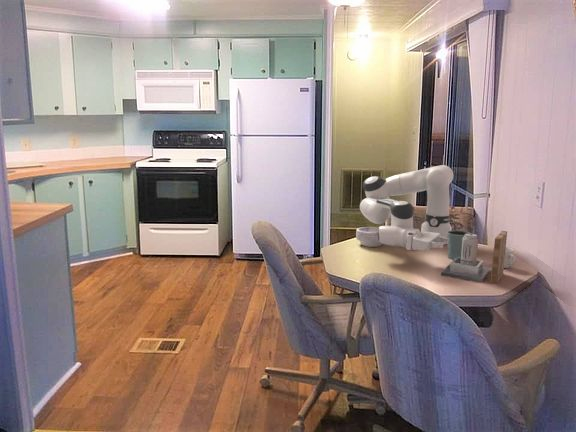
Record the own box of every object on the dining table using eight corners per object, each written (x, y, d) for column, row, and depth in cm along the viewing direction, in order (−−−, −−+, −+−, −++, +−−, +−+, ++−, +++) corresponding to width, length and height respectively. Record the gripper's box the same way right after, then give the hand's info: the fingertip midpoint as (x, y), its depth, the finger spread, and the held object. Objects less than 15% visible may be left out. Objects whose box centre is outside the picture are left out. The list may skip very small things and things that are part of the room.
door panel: (497, 273, 215) (502, 230, 212) (502, 273, 214) (507, 231, 211) (490, 283, 202) (494, 238, 198) (496, 284, 201) (500, 239, 197)
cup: (520, 270, 219) (522, 252, 218) (505, 272, 217) (507, 253, 215) (503, 263, 229) (505, 246, 228) (488, 264, 227) (489, 247, 226)
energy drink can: (457, 270, 213) (460, 234, 210) (463, 267, 217) (466, 232, 215) (471, 273, 209) (474, 237, 206) (477, 270, 214) (481, 234, 211)
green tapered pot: (469, 261, 231) (472, 235, 229) (446, 260, 233) (448, 234, 231) (466, 255, 241) (469, 230, 239) (444, 254, 243) (446, 229, 241)
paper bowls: (362, 239, 269) (363, 224, 267) (390, 243, 261) (391, 228, 259) (350, 245, 256) (351, 230, 254) (379, 250, 248) (380, 234, 247)
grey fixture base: (452, 265, 226) (452, 253, 225) (490, 271, 218) (491, 259, 217) (440, 275, 211) (441, 263, 210) (482, 282, 203) (483, 270, 202)
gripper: (420, 241, 233) (451, 245, 226) (405, 250, 215) (439, 255, 208) (421, 227, 231) (452, 231, 224) (406, 236, 214) (440, 240, 207)
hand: (445, 243), depth 216 cm, fingers open, 8 cm apart
